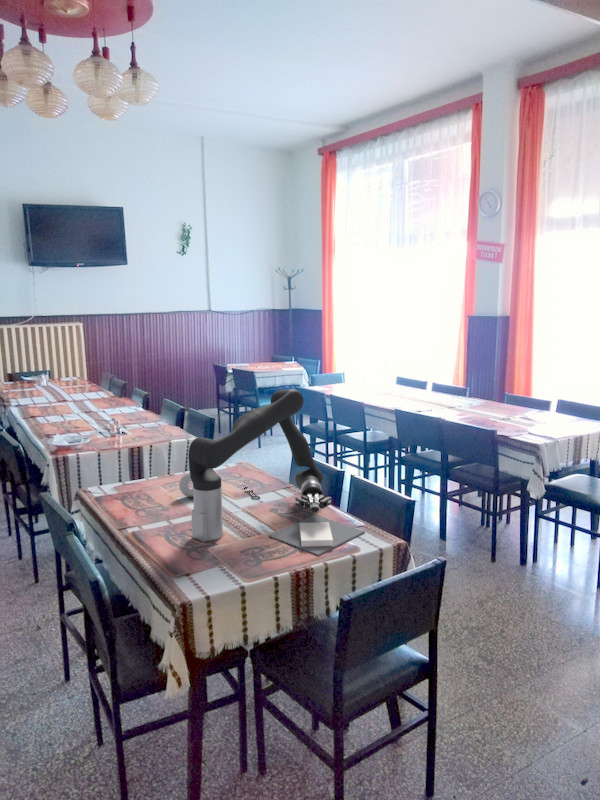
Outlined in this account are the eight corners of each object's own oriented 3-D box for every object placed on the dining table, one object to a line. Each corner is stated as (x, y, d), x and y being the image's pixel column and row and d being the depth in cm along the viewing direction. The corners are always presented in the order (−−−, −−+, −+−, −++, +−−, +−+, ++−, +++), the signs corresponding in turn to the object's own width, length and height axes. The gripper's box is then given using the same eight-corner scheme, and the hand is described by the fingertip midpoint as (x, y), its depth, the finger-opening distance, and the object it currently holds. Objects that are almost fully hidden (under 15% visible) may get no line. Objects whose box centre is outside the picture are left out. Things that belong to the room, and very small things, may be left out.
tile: (299, 522, 205) (301, 540, 191) (328, 522, 206) (332, 539, 192) (299, 529, 206) (301, 547, 192) (328, 528, 206) (332, 546, 192)
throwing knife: (251, 501, 235) (251, 499, 235) (236, 485, 253) (236, 484, 253) (262, 499, 237) (262, 498, 237) (246, 484, 255) (246, 482, 255)
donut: (202, 493, 243) (201, 469, 242) (205, 495, 241) (204, 471, 239) (178, 497, 239) (177, 472, 237) (181, 499, 236) (180, 475, 234)
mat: (318, 555, 187) (318, 554, 187) (268, 536, 201) (268, 534, 201) (364, 532, 204) (364, 531, 204) (315, 516, 219) (315, 514, 219)
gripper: (293, 482, 216) (295, 499, 199) (330, 482, 217) (335, 499, 200) (293, 502, 217) (295, 521, 200) (330, 502, 218) (334, 520, 201)
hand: (315, 510), depth 200 cm, fingers closed
